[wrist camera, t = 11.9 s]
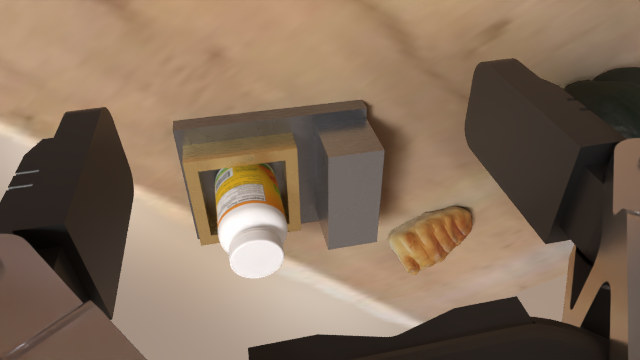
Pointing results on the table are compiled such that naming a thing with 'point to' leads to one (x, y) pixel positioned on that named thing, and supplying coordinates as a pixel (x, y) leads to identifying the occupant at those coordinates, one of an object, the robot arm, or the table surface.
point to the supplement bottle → (250, 219)
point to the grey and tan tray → (291, 166)
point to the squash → (613, 99)
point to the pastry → (429, 237)
